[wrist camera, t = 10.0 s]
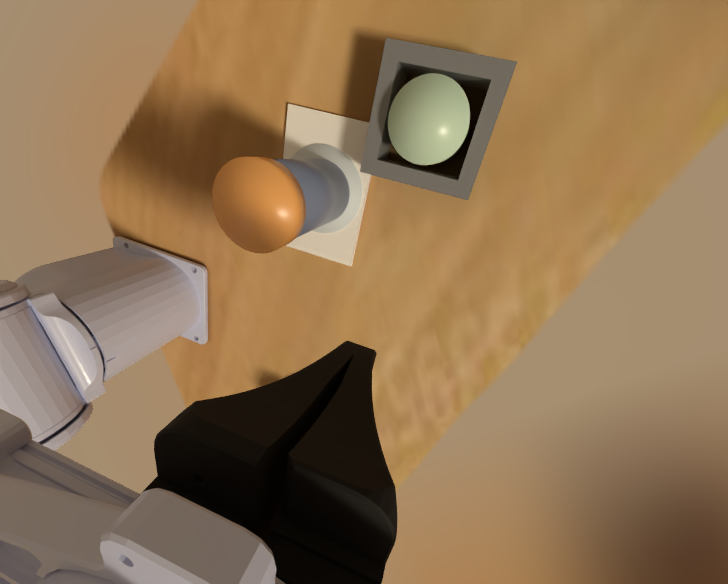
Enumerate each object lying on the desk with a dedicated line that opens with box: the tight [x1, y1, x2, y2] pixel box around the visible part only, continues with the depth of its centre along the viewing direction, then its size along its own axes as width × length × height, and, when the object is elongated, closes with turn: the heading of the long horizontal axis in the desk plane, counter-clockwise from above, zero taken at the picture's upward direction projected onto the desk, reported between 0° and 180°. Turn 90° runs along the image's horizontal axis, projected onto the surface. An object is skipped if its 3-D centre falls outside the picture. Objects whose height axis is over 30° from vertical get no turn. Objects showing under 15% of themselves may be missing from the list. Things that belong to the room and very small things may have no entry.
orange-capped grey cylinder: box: [212, 157, 350, 253], centre depth 17 cm, size 4×4×8 cm
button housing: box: [360, 38, 517, 200], centre depth 17 cm, size 6×6×3 cm
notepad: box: [283, 104, 371, 266], centre depth 21 cm, size 6×9×1 cm, turn 167°
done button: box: [388, 73, 470, 165], centre depth 16 cm, size 4×4×3 cm
